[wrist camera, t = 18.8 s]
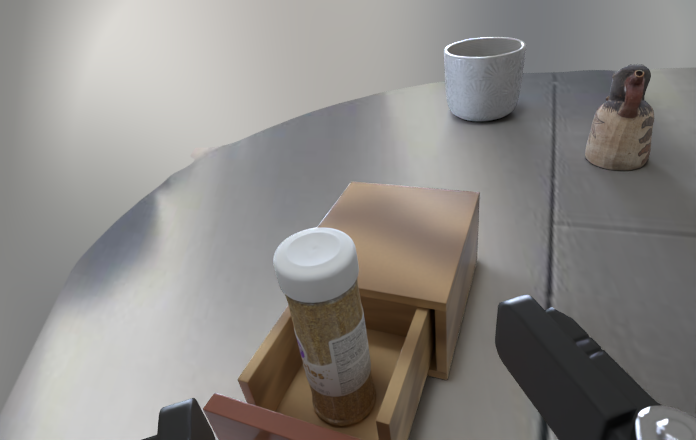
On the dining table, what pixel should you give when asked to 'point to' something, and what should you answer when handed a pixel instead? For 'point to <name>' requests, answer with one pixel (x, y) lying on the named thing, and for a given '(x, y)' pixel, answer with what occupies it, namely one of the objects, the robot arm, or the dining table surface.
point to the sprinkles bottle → (328, 321)
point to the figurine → (623, 123)
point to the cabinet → (414, 251)
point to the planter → (483, 77)
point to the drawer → (294, 389)
